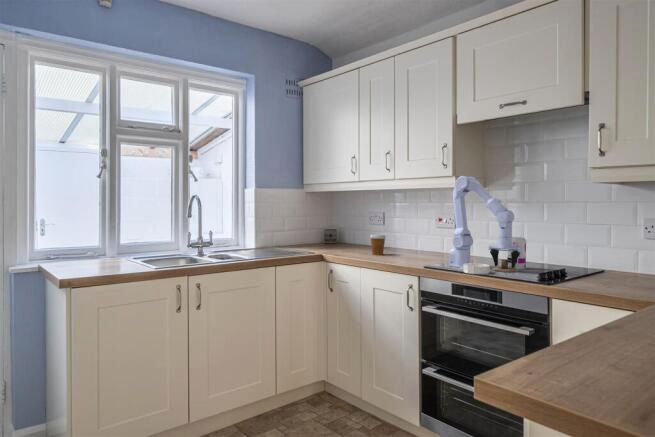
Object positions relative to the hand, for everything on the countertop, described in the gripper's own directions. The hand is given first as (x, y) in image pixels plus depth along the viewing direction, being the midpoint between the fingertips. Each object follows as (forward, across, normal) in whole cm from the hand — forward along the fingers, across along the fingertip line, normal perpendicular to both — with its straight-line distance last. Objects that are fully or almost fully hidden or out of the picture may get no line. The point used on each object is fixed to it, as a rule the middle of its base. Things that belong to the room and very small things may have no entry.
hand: (504, 266), depth 210 cm
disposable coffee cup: (+2, -81, +16) cm, 83 cm away
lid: (+2, 0, 0) cm, 2 cm away
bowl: (+2, -8, -12) cm, 15 cm away
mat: (+2, -1, 0) cm, 2 cm away
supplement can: (+2, +1, +12) cm, 13 cm away
